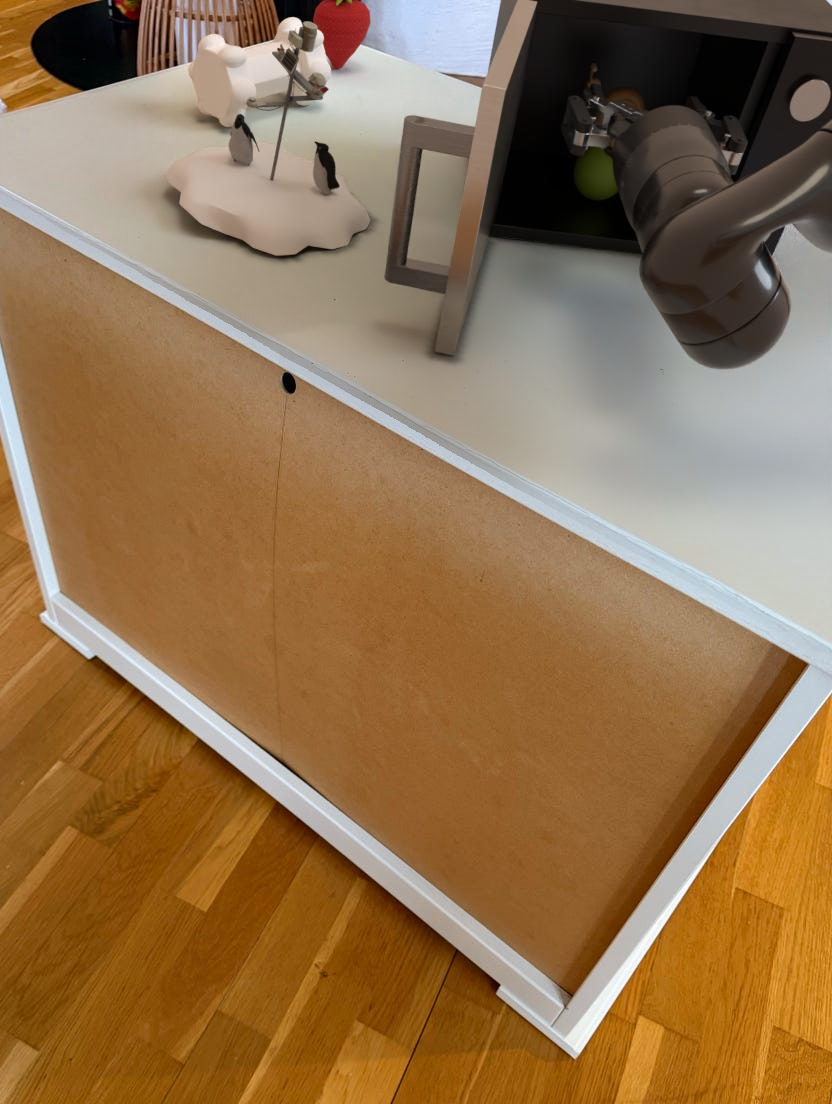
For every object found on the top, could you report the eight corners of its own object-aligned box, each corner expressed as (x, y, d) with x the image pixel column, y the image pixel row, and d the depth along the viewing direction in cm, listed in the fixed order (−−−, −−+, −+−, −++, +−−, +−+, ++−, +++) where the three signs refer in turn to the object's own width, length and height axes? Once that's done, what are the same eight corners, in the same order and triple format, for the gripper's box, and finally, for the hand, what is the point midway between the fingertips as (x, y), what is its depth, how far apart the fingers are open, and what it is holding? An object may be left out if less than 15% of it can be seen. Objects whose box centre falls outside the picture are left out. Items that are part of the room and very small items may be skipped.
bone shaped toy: (281, 86, 111) (284, 7, 105) (332, 110, 108) (338, 30, 101) (185, 112, 103) (182, 28, 97) (237, 138, 100) (237, 54, 94)
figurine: (122, 188, 87) (120, -11, 74) (250, 142, 97) (268, -40, 85) (283, 287, 82) (310, 91, 69) (400, 227, 92) (442, 47, 79)
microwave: (765, 280, 89) (871, 46, 74) (480, 246, 88) (529, 2, 73) (717, 183, 104) (798, -29, 89) (472, 153, 103) (512, -66, 88)
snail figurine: (554, 183, 97) (586, 54, 88) (614, 189, 97) (652, 61, 88) (561, 206, 93) (596, 74, 84) (623, 212, 94) (664, 81, 85)
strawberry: (375, 73, 117) (385, -20, 109) (326, 80, 114) (332, -16, 106) (350, 57, 120) (357, -35, 112) (301, 64, 117) (305, -31, 109)
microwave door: (371, 338, 75) (403, 70, 61) (418, 226, 90) (454, -14, 75) (453, 355, 75) (506, 89, 60) (488, 240, 89) (537, 1, 74)
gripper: (786, 138, 67) (737, 64, 77) (593, 114, 66) (570, 42, 77) (743, 240, 72) (703, 157, 83) (565, 218, 72) (547, 137, 83)
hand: (639, 102), depth 80 cm, fingers open, 8 cm apart
